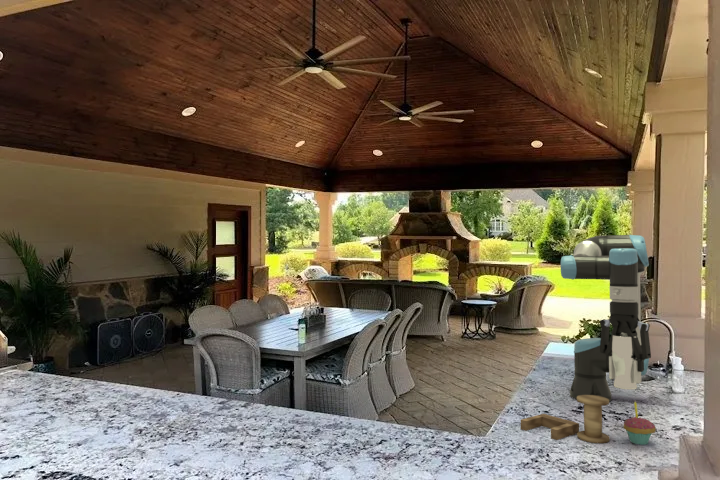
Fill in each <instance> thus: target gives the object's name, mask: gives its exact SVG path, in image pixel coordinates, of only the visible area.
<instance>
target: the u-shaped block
mask: <svg viewBox="0 0 720 480" xmlns="http://www.w3.org/2000/svg"><path fill="white" fill-rule="evenodd" d="M540 427H544V428H548V429H550V439H552V440H554V441H558V440H561V439H565V438H568V437H571V436H574V435H577V432H579V431H580V423H579V422H575V421H573V420H568V419H565V418H561V417H557V416H553V415H549V414H546V413H540V414H536V415H533V416H529V417H526V418H522V419H520V430H522V431H524V432H526V431H530V430H533V429H537V428H540Z"/></svg>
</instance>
